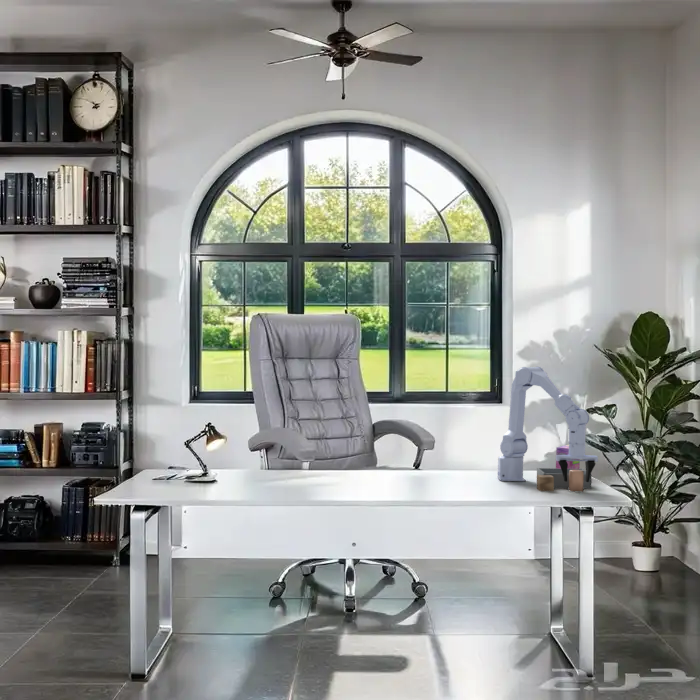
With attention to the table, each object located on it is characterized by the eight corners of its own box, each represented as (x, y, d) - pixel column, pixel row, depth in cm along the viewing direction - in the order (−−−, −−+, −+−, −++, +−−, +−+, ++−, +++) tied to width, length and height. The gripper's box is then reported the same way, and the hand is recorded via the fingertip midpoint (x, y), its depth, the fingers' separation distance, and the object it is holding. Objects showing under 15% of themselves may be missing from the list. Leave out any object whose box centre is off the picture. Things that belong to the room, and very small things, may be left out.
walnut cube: (539, 491, 320) (539, 477, 320) (536, 488, 325) (537, 474, 325) (553, 491, 320) (553, 477, 320) (550, 488, 325) (551, 475, 325)
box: (569, 478, 348) (569, 448, 348) (555, 477, 352) (555, 446, 351) (579, 475, 356) (580, 445, 356) (566, 474, 360) (566, 444, 360)
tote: (543, 487, 328) (543, 473, 328) (536, 481, 341) (536, 468, 341) (591, 488, 327) (591, 474, 327) (582, 482, 341) (582, 468, 340)
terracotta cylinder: (570, 491, 320) (570, 471, 320) (567, 489, 325) (567, 469, 325) (584, 491, 320) (585, 472, 320) (581, 489, 325) (581, 469, 325)
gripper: (559, 444, 318) (558, 482, 319) (600, 445, 318) (599, 483, 318) (554, 442, 325) (554, 479, 326) (595, 442, 325) (594, 480, 325)
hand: (576, 481), depth 323 cm, fingers open, 7 cm apart
